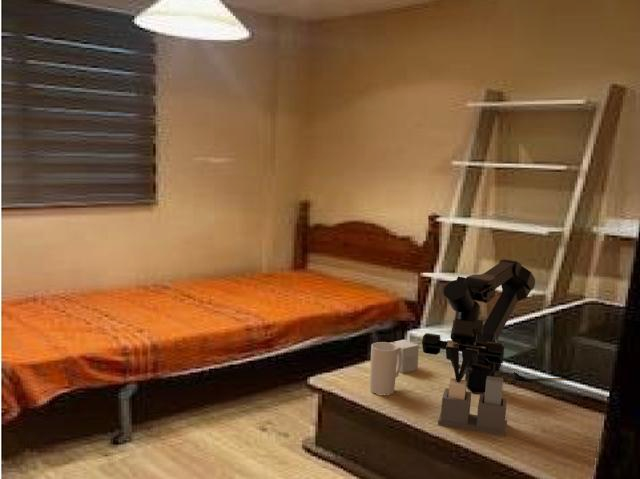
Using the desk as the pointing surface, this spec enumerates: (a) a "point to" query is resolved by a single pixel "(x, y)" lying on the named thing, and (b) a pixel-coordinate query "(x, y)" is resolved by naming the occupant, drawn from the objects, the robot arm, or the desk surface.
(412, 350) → the skincare box
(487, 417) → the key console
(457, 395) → the beige block
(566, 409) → the desk surface
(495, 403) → the slate key
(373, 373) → the mug
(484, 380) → the robot arm
